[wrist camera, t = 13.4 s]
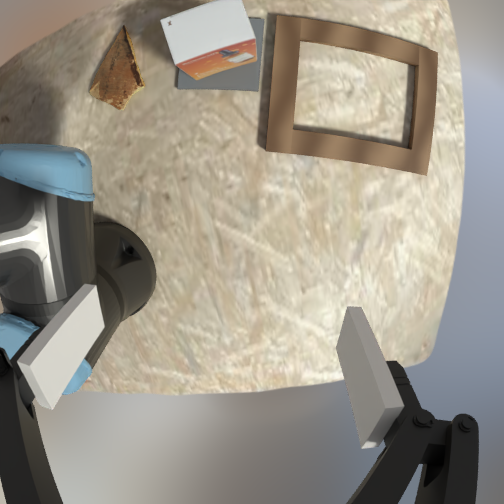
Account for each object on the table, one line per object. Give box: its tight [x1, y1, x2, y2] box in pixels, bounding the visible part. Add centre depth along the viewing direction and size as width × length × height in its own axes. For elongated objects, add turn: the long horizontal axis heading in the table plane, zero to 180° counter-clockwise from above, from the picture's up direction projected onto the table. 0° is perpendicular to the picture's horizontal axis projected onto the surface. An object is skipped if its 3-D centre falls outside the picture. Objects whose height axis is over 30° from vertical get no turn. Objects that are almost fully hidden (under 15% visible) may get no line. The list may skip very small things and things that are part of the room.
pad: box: [178, 18, 264, 91], centre depth 32 cm, size 10×10×1 cm
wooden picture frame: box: [266, 15, 438, 176], centre depth 33 cm, size 22×18×1 cm
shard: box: [90, 25, 145, 110], centre depth 33 cm, size 11×8×2 cm
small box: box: [160, 0, 257, 80], centre depth 27 cm, size 8×6×10 cm
